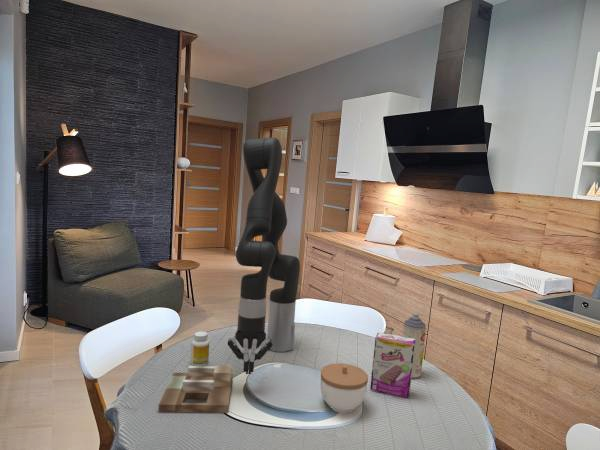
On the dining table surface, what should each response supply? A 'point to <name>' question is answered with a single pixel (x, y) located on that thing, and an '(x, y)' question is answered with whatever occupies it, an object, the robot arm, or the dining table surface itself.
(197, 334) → the supplement bottle
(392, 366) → the candy bar box
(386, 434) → the dining table surface
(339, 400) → the lidded bowl
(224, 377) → the birch block
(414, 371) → the aerosol can
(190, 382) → the channel deck
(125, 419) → the dining table surface
